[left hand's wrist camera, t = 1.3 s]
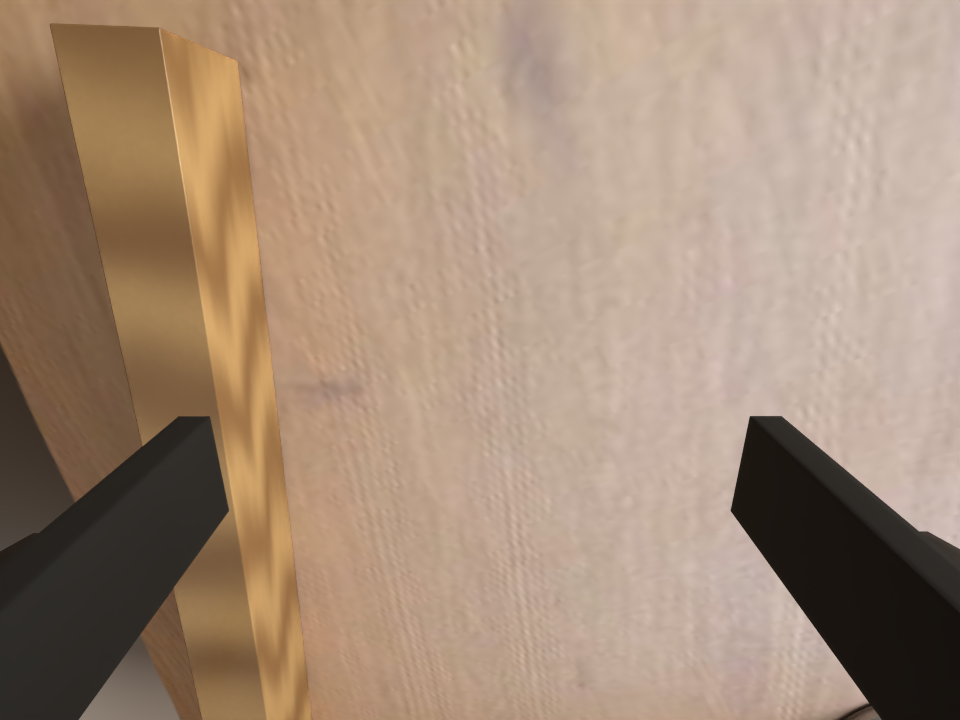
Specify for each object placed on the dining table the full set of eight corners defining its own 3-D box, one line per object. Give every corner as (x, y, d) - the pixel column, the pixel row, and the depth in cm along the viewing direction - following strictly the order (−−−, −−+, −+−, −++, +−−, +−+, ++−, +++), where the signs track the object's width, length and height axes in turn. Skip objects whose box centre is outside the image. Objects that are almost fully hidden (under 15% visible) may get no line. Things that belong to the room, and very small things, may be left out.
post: (154, 57, 28) (48, 22, 21) (237, 61, 28) (159, 27, 21) (264, 736, 47) (227, 835, 40) (314, 737, 47) (285, 836, 40)
